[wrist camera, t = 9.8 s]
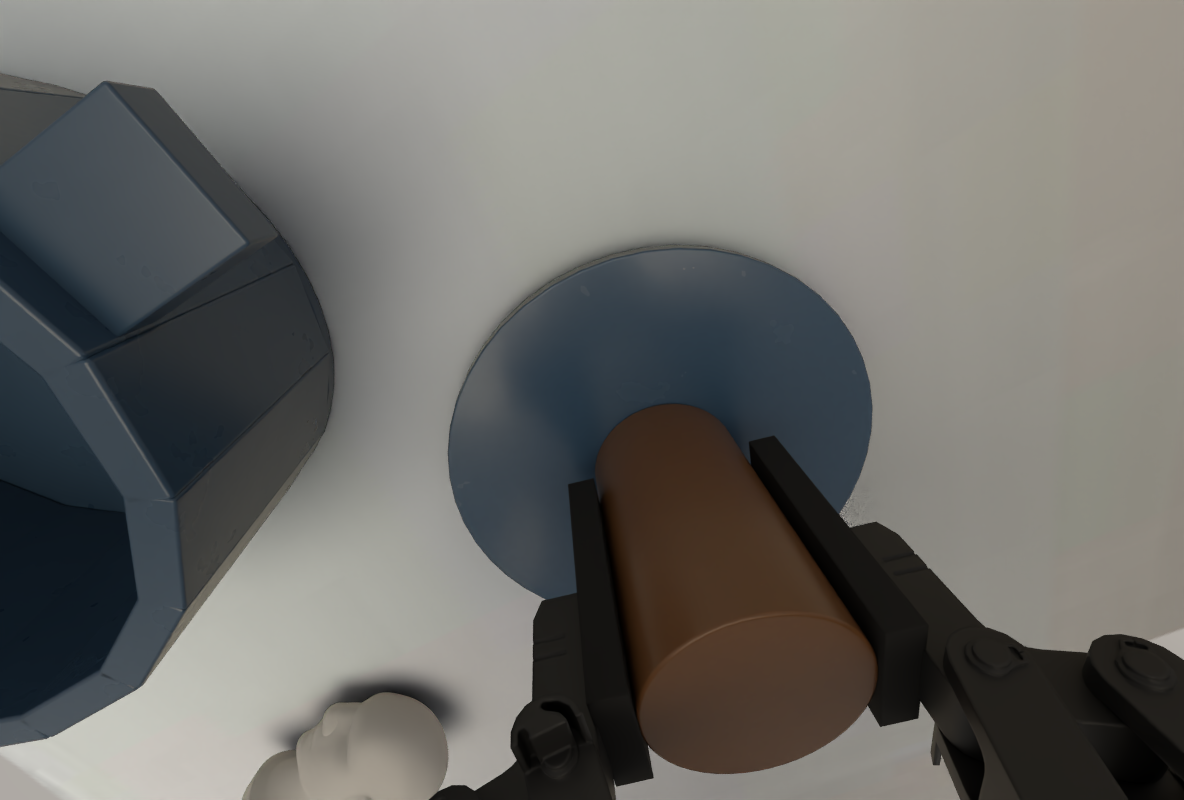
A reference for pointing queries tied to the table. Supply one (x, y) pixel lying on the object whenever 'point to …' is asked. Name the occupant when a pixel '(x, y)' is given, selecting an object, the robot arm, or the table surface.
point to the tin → (133, 390)
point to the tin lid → (680, 487)
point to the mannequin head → (360, 755)
